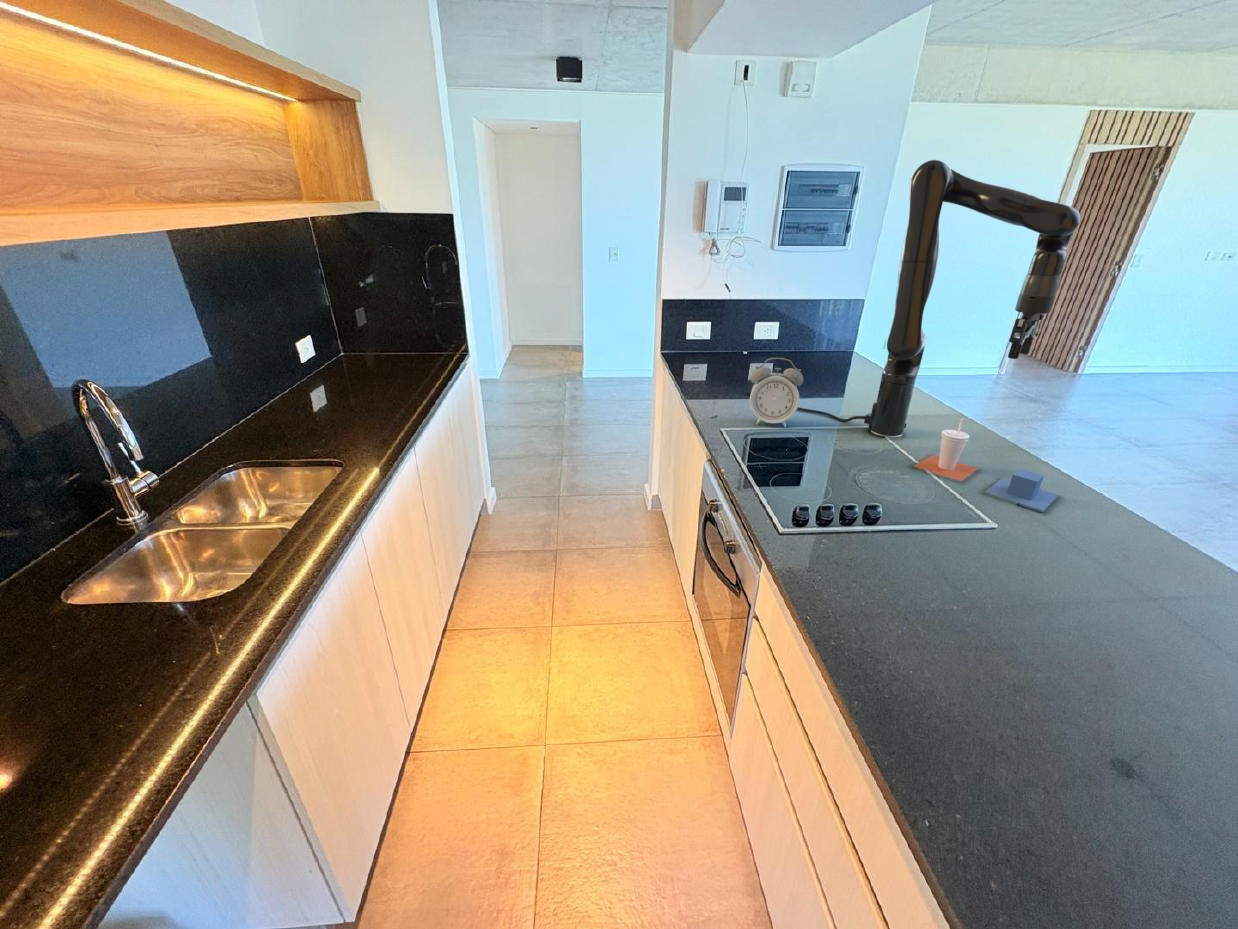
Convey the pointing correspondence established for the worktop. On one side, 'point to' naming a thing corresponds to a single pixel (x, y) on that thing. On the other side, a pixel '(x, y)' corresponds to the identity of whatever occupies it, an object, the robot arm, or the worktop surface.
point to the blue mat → (1036, 503)
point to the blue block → (1025, 484)
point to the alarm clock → (775, 393)
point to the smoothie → (952, 447)
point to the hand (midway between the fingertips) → (1018, 355)
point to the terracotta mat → (958, 473)
